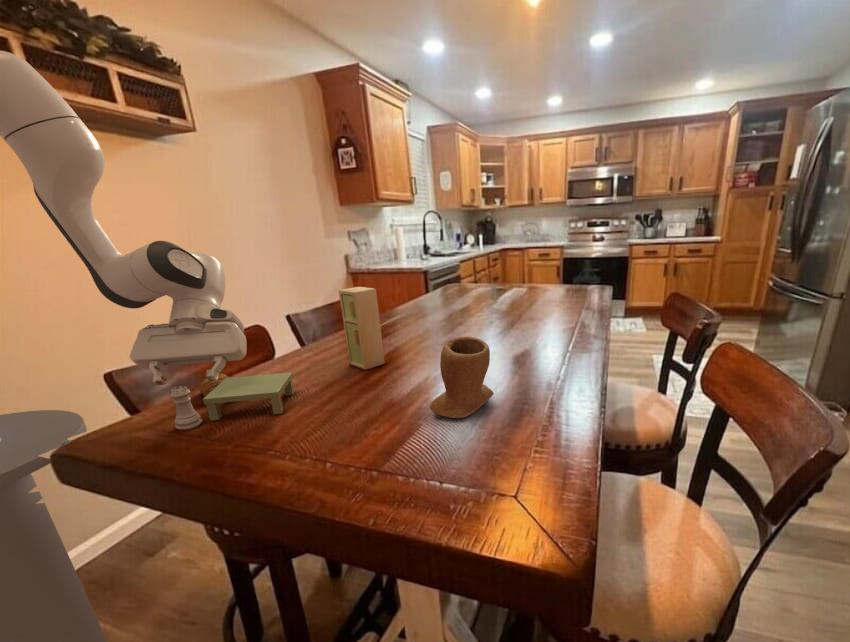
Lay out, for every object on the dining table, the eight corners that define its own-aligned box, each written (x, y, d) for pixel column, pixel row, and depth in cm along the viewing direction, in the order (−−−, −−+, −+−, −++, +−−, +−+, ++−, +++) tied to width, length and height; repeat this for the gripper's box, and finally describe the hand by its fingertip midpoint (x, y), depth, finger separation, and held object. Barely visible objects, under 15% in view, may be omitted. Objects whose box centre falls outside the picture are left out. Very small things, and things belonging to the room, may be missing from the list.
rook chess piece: (206, 419, 83) (196, 383, 80) (197, 429, 79) (186, 391, 76) (182, 421, 82) (171, 385, 79) (171, 432, 78) (159, 394, 75)
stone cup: (471, 428, 76) (469, 353, 71) (422, 415, 82) (416, 344, 77) (508, 399, 89) (508, 333, 84) (462, 389, 94) (460, 327, 90)
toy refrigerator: (346, 365, 113) (335, 289, 106) (368, 358, 118) (360, 286, 111) (362, 371, 108) (352, 292, 101) (385, 364, 113) (377, 288, 106)
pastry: (235, 396, 94) (232, 381, 92) (201, 404, 90) (196, 388, 89) (233, 384, 101) (230, 370, 100) (201, 390, 98) (197, 376, 96)
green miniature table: (208, 421, 82) (202, 399, 80) (231, 397, 93) (226, 377, 91) (282, 414, 84) (278, 392, 83) (295, 391, 96) (292, 372, 94)
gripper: (130, 317, 81) (115, 380, 76) (240, 310, 85) (234, 370, 79) (149, 333, 87) (136, 392, 81) (252, 326, 91) (246, 382, 85)
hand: (185, 381), depth 80 cm, fingers open, 8 cm apart
